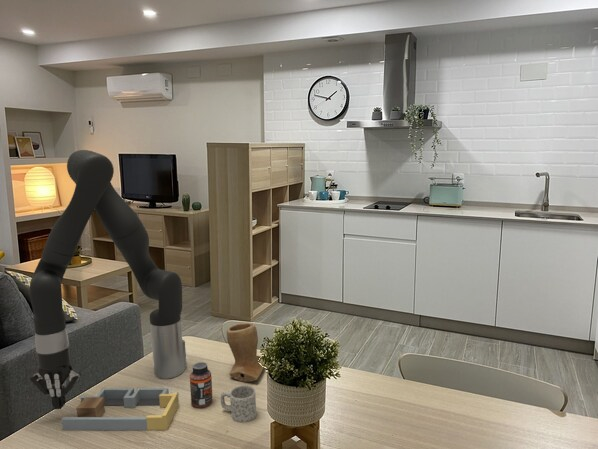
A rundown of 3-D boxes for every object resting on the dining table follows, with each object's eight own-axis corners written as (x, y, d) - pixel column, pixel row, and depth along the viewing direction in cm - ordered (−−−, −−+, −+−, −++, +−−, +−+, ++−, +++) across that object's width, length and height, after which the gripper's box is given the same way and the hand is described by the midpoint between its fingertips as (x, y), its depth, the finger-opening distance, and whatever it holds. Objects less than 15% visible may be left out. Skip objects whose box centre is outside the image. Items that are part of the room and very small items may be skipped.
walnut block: (78, 423, 122) (76, 407, 121) (87, 412, 127) (85, 397, 126) (96, 423, 122) (95, 407, 121) (105, 412, 127) (103, 397, 126)
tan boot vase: (235, 359, 155) (233, 316, 153) (269, 361, 153) (268, 318, 150) (219, 382, 141) (216, 336, 138) (257, 385, 139) (255, 338, 136)
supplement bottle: (207, 409, 127) (205, 371, 125) (187, 407, 128) (184, 369, 126) (216, 397, 132) (213, 361, 130) (196, 395, 134) (194, 359, 131)
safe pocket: (147, 429, 118) (146, 415, 118) (161, 405, 129) (160, 392, 128) (166, 429, 118) (165, 415, 117) (178, 405, 129) (178, 392, 128)
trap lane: (62, 430, 119) (61, 419, 118) (90, 397, 134) (89, 388, 133) (151, 429, 118) (150, 419, 118) (169, 397, 133) (168, 387, 132)
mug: (260, 410, 126) (259, 387, 125) (249, 424, 120) (248, 401, 119) (227, 403, 129) (226, 382, 128) (215, 417, 123) (214, 394, 122)
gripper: (18, 353, 117) (26, 415, 120) (70, 352, 117) (77, 415, 120) (35, 340, 124) (42, 399, 127) (84, 340, 124) (90, 399, 127)
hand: (59, 407), depth 123 cm, fingers closed
